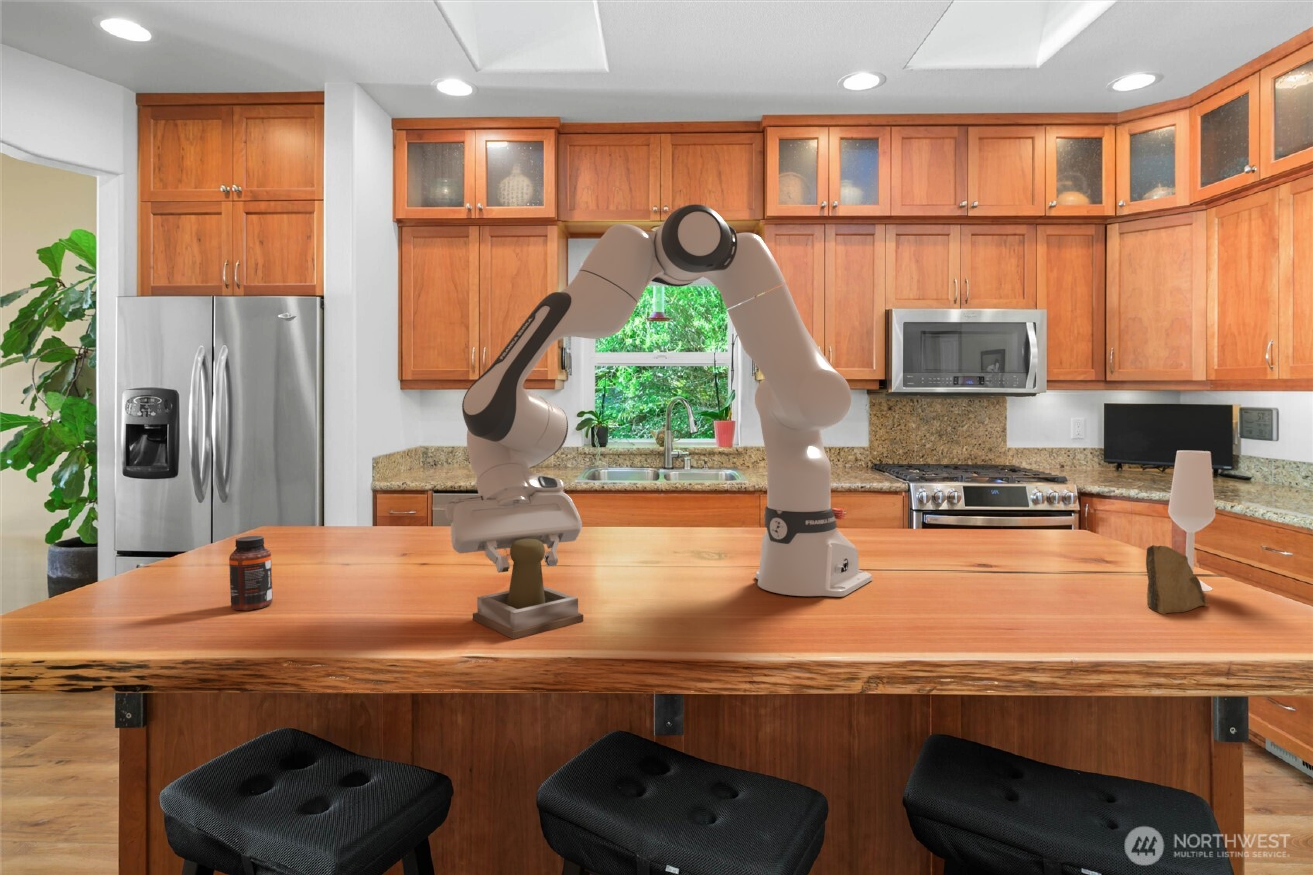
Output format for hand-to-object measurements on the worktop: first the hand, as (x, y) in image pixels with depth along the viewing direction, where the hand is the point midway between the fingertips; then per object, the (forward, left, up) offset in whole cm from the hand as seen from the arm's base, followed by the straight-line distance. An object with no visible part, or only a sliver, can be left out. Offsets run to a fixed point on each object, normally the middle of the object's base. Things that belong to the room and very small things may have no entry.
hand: (528, 567), depth 106 cm
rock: (-80, +64, -9) cm, 103 cm away
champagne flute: (-97, +62, -9) cm, 116 cm away
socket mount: (0, -1, -8) cm, 8 cm away
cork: (0, -2, -7) cm, 7 cm away
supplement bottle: (+29, -38, -9) cm, 48 cm away
